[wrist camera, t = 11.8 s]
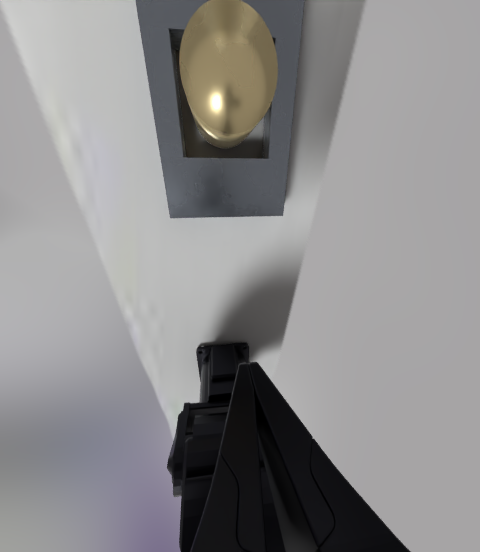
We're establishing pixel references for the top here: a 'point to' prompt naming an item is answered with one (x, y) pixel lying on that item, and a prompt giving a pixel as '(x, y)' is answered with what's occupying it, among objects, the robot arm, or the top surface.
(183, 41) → the gold rounded cylinder
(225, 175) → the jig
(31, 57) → the top surface
